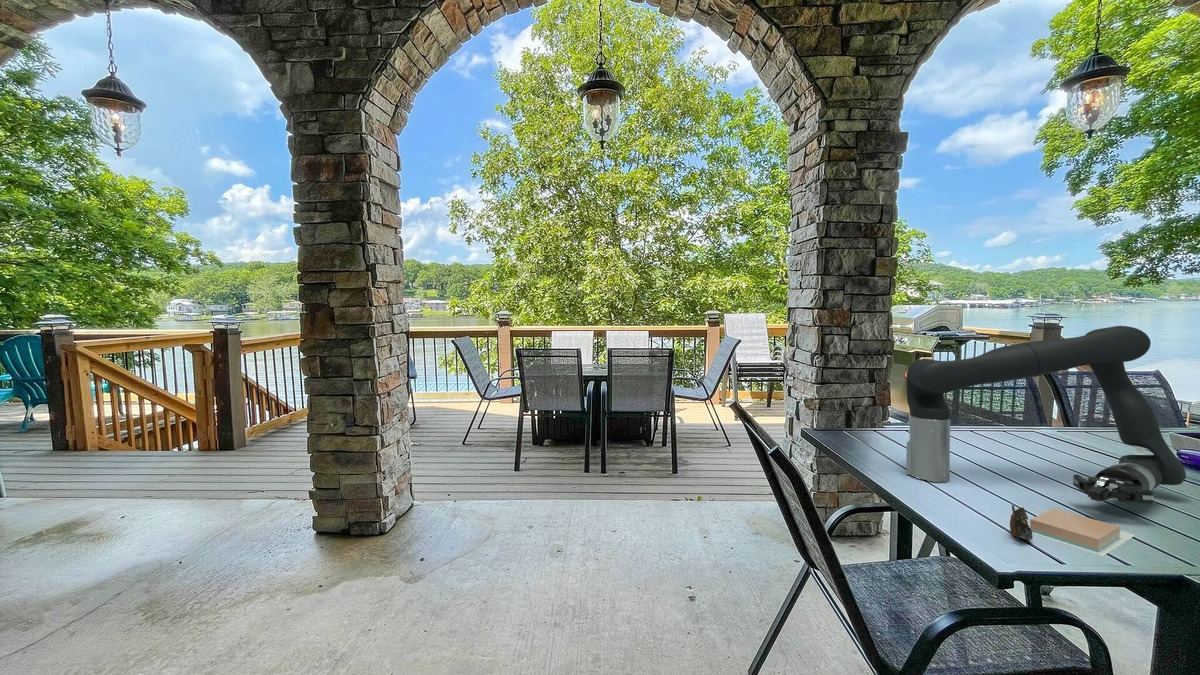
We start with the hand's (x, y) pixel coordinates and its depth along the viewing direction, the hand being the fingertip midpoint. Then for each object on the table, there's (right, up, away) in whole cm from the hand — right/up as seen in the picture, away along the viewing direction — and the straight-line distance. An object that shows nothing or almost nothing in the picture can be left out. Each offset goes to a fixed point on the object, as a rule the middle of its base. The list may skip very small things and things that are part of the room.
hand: (1095, 496), depth 98 cm
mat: (-7, -7, -3) cm, 11 cm away
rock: (-22, -7, -6) cm, 24 cm away
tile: (-4, -5, -2) cm, 7 cm away
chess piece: (+45, -4, +30) cm, 54 cm away
